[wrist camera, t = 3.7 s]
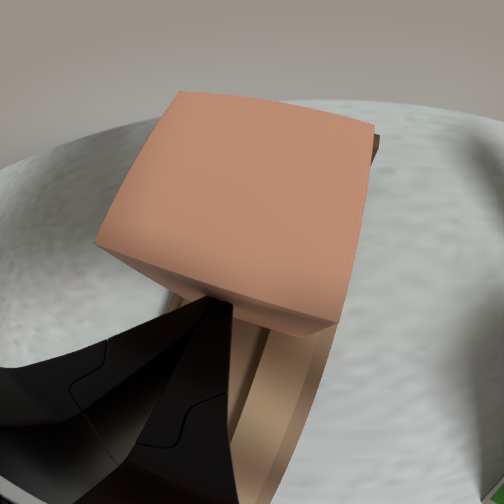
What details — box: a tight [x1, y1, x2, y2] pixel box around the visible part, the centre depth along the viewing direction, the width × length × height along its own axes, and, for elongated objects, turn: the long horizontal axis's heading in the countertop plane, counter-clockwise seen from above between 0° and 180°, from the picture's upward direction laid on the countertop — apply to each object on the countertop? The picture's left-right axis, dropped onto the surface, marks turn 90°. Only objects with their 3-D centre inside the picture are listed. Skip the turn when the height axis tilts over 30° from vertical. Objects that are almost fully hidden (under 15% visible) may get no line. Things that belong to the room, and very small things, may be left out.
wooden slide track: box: [168, 134, 380, 504], centre depth 14 cm, size 28×9×4 cm, turn 162°
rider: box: [94, 91, 375, 338], centre depth 11 cm, size 5×6×10 cm
